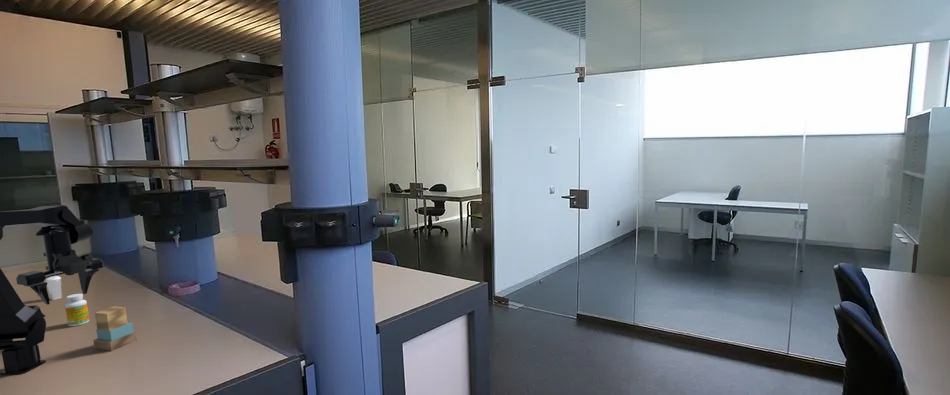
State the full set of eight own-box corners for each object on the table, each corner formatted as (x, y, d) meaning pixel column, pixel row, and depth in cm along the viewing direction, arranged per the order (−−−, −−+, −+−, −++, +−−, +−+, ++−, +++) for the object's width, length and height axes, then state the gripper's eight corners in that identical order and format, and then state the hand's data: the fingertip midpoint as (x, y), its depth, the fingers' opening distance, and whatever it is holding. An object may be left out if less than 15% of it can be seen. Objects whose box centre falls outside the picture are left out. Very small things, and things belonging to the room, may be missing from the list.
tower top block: (111, 341, 127) (110, 331, 126) (97, 339, 129) (96, 329, 128) (133, 332, 132) (132, 322, 132) (120, 330, 134) (118, 321, 134)
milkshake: (48, 298, 179) (44, 274, 178) (66, 296, 181) (62, 272, 180) (43, 301, 175) (39, 277, 174) (61, 299, 177) (57, 274, 176)
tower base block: (111, 352, 126) (110, 342, 126) (94, 350, 129) (93, 340, 128) (137, 341, 133) (135, 332, 133) (120, 339, 135) (119, 330, 135)
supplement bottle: (76, 327, 146) (72, 298, 145) (63, 326, 147) (59, 298, 146) (93, 320, 151) (89, 292, 150) (81, 320, 153) (76, 292, 151)
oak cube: (109, 330, 127) (106, 313, 126) (97, 329, 128) (94, 312, 128) (127, 323, 131) (125, 307, 131) (115, 322, 133) (113, 306, 132)
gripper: (33, 257, 120) (43, 313, 122) (111, 241, 137) (118, 290, 139) (10, 255, 124) (20, 309, 126) (88, 240, 141) (96, 288, 143)
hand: (66, 298), depth 133 cm, fingers open, 9 cm apart
